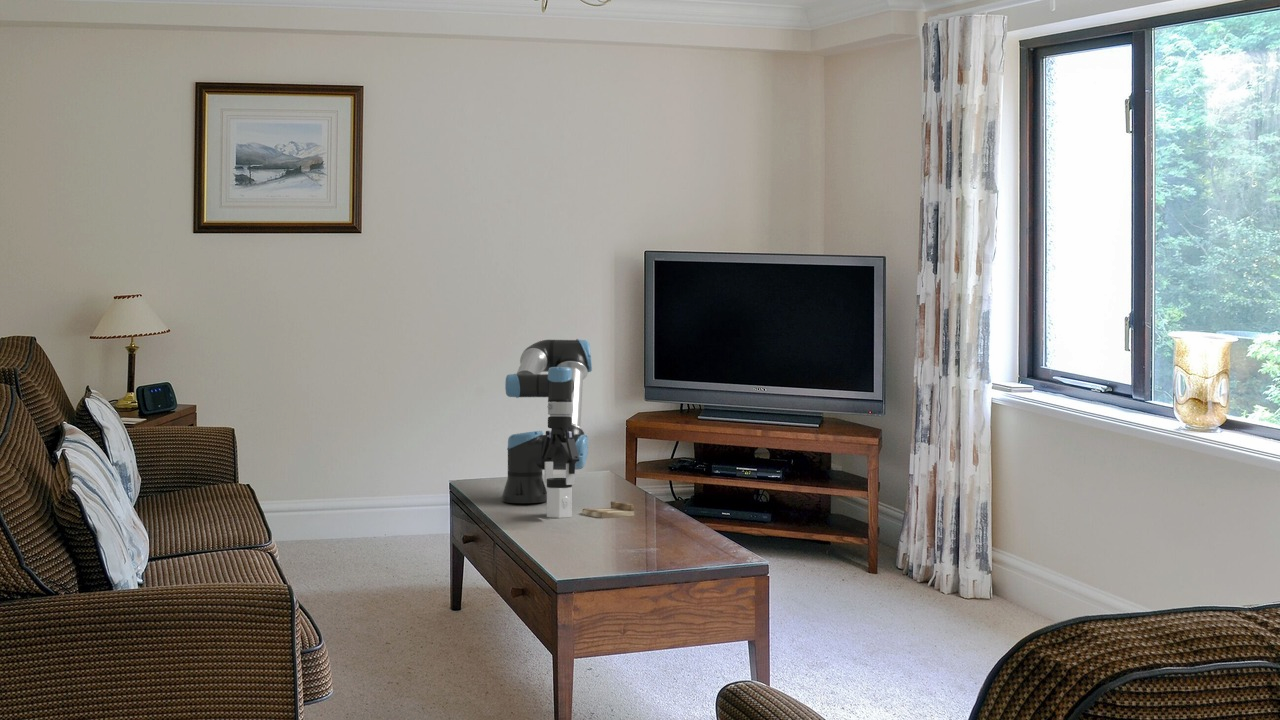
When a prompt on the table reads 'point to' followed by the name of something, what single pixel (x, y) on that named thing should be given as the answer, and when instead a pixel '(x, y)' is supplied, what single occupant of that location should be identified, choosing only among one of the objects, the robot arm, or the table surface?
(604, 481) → the table surface
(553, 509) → the jar
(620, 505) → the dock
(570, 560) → the table surface
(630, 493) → the table surface
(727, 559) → the table surface
